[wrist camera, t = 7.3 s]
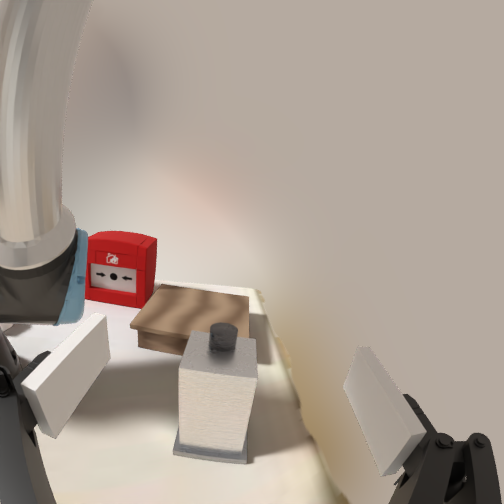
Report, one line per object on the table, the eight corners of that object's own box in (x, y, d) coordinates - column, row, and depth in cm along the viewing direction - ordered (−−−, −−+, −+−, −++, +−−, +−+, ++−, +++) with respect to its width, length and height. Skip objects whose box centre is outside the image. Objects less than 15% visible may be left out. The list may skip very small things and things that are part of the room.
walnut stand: (131, 348, 45) (129, 324, 43) (161, 303, 64) (161, 283, 63) (245, 367, 46) (249, 343, 44) (245, 316, 65) (248, 296, 64)
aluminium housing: (173, 454, 26) (169, 354, 22) (184, 408, 34) (187, 311, 30) (245, 464, 26) (269, 368, 22) (246, 417, 34) (264, 322, 31)
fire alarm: (81, 299, 57) (79, 236, 54) (98, 283, 68) (98, 227, 64) (145, 310, 59) (146, 244, 56) (155, 292, 70) (158, 234, 66)
